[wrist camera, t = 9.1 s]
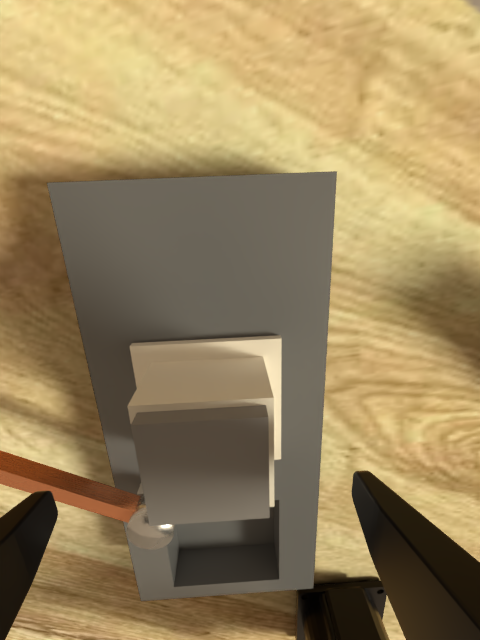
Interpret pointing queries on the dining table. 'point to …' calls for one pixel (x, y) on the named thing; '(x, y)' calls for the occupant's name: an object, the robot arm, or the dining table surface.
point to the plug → (207, 427)
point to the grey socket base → (209, 323)
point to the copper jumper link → (86, 497)
